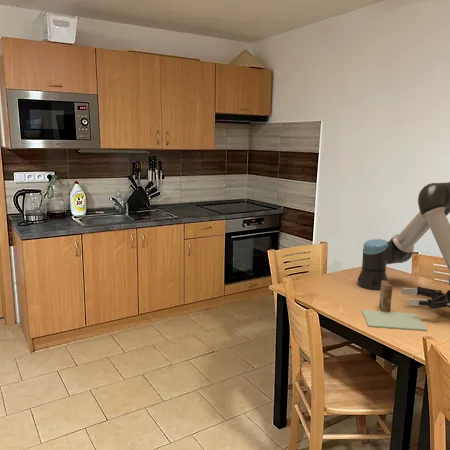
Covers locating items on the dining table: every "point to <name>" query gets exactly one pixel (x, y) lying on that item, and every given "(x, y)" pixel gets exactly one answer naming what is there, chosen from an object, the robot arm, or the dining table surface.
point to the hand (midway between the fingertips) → (405, 296)
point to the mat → (393, 320)
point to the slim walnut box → (385, 296)
